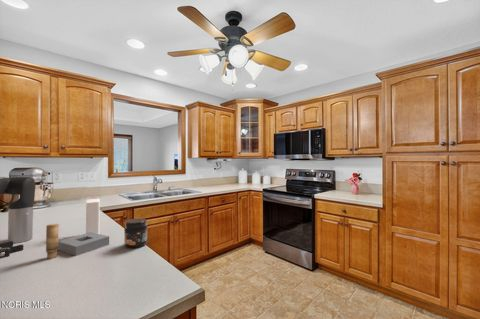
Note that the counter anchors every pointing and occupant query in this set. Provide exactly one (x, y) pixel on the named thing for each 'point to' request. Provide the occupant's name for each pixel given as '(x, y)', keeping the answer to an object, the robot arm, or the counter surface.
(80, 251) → the board
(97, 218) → the white tall block
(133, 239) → the supplement container
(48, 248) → the peg
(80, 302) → the counter surface
